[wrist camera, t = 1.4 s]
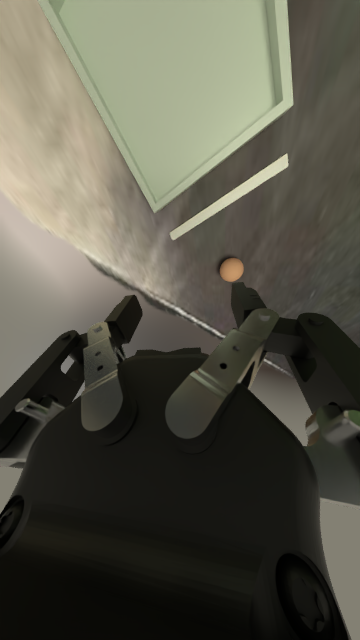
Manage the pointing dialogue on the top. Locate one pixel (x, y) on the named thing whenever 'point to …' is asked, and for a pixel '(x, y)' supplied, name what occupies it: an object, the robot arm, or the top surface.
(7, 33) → the top surface
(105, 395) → the robot arm
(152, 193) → the tray
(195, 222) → the strip
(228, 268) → the ball
